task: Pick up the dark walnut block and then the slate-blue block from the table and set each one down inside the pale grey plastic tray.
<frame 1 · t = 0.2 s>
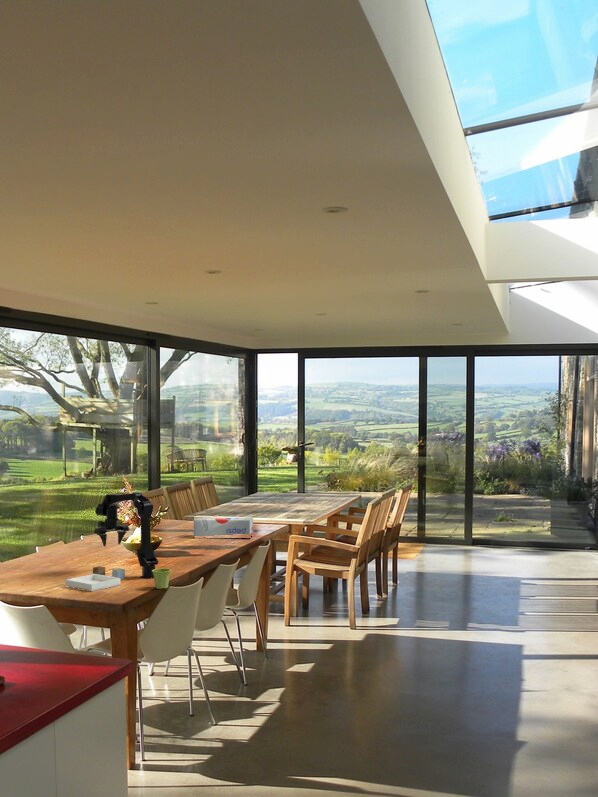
hand: (111, 545, 426), 14 cm above the table, tool pointing down, fingers open, 9 cm apart
slate block: (118, 579, 406), on the table
soda pack: (223, 538, 546), on the table
plant pot: (161, 588, 385), on the table
grey tray: (93, 585, 389), on the table
walnut block: (99, 576, 412), on the table
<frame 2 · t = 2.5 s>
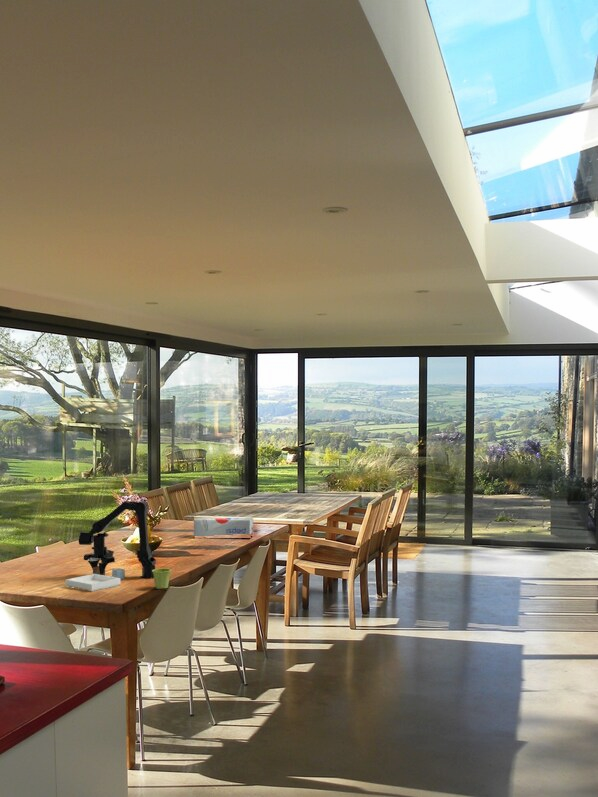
hand: (99, 574, 412), 1 cm above the table, tool pointing down, fingers closed on walnut block, 4 cm apart
walnut block: (99, 576, 412), on the table, touching gripper
everything else where it was.
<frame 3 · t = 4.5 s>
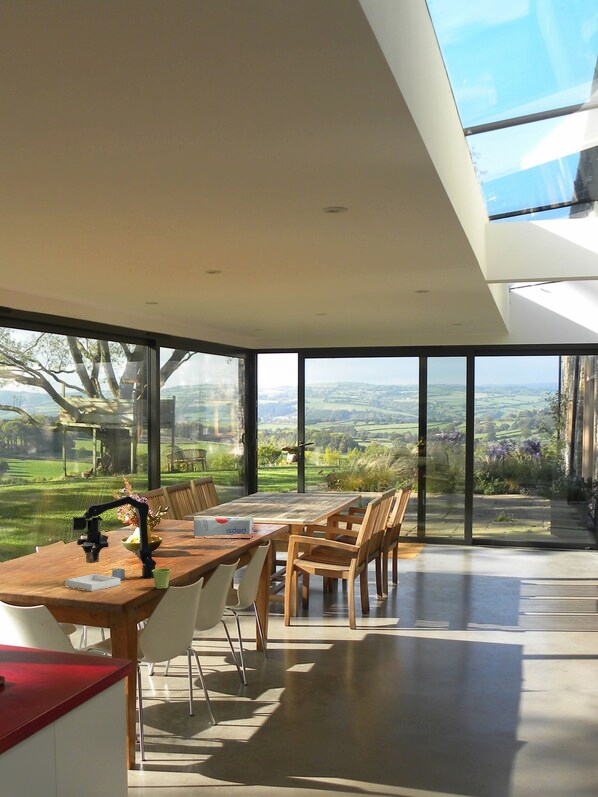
hand: (92, 560, 398), 11 cm above the table, tool pointing down, fingers closed on walnut block, 4 cm apart
walnut block: (92, 562, 398), point 10 cm above the table, touching gripper
everything else where it was.
when the fingers open (4 cm above the table, at t = 6.5 s): walnut block drops 2 cm, resting on grey tray.
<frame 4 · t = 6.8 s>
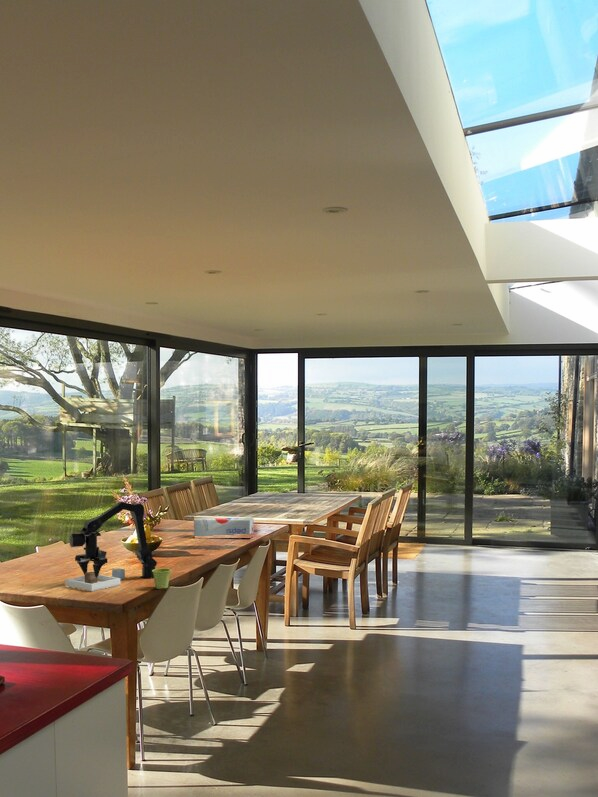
hand: (91, 576, 393), 4 cm above the table, tool pointing down, fingers open, 8 cm apart
walnut block: (91, 582, 393), point 1 cm above the table, touching grey tray
everything else where it was.
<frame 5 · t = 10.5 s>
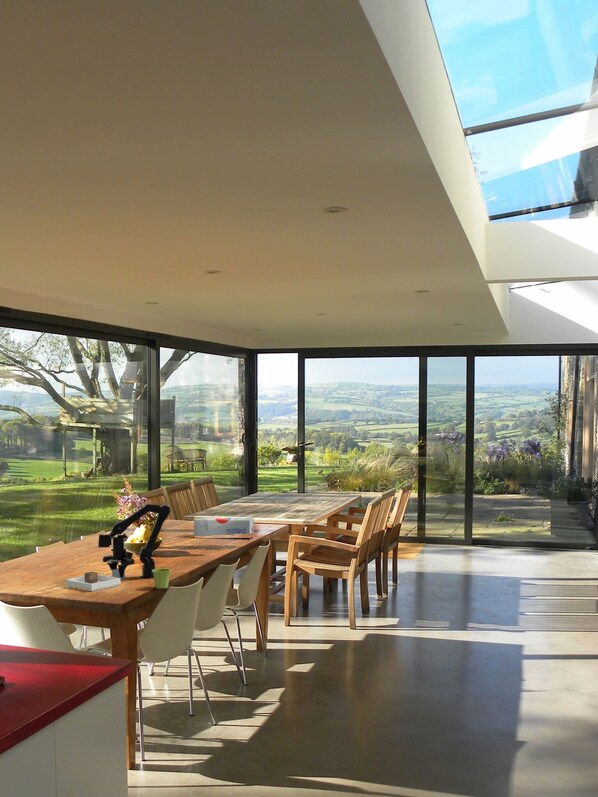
hand: (118, 576, 406), 1 cm above the table, tool pointing down, fingers closed on slate block, 4 cm apart
slate block: (118, 578, 406), on the table, touching gripper
everything else where it was.
when the fingers open (4 cm above the table, at t = 14.6 s): slate block drops 2 cm, resting on grey tray.
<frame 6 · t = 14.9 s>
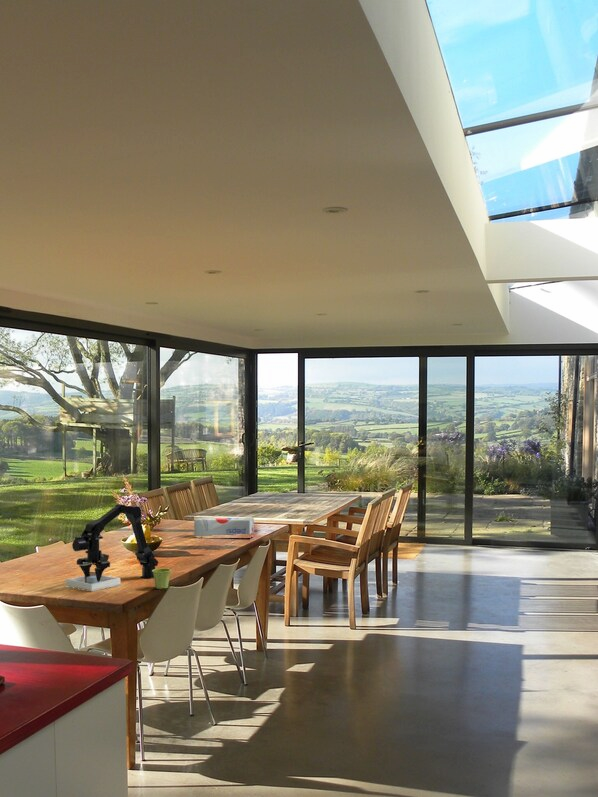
hand: (93, 580, 383), 4 cm above the table, tool pointing down, fingers open, 8 cm apart
slate block: (93, 587, 383), point 1 cm above the table, touching grey tray
everything else where it was.
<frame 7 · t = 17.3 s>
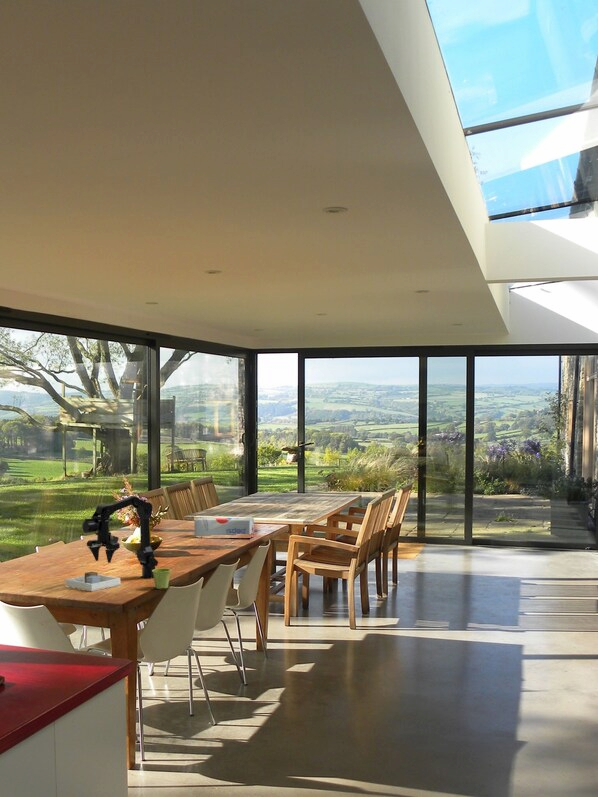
hand: (103, 561, 390), 12 cm above the table, tool pointing down, fingers open, 9 cm apart
nothing on the table moved.
at the end: walnut block inside the target area on the grey tray (4.5 cm from its centre), point 0.8 cm above the grey tray's base; slate block inside the target area on the grey tray (6.4 cm from its centre), point 0.8 cm above the grey tray's base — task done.
